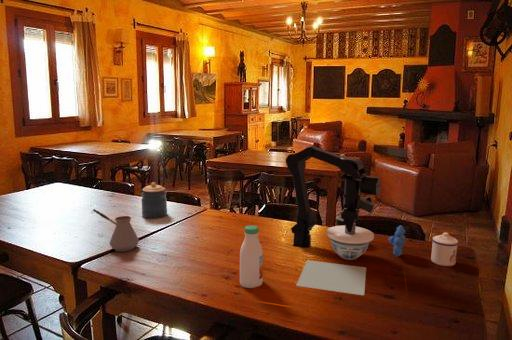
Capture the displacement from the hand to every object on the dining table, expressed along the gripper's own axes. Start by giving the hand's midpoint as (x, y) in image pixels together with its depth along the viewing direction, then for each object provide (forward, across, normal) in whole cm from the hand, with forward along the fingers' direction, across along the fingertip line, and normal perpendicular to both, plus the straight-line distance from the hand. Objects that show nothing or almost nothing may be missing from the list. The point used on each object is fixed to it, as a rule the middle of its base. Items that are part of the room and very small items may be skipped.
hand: (349, 230), depth 159 cm
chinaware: (+11, 0, 0) cm, 11 cm away
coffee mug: (+11, +21, +3) cm, 24 cm away
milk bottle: (+12, -33, +30) cm, 46 cm away
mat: (+11, -20, +4) cm, 23 cm away
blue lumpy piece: (+11, +9, -18) cm, 23 cm away
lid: (+2, 0, 0) cm, 2 cm away
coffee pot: (+12, -18, +94) cm, 96 cm away
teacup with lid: (+11, +8, -36) cm, 38 cm away
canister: (+12, +26, +101) cm, 105 cm away
